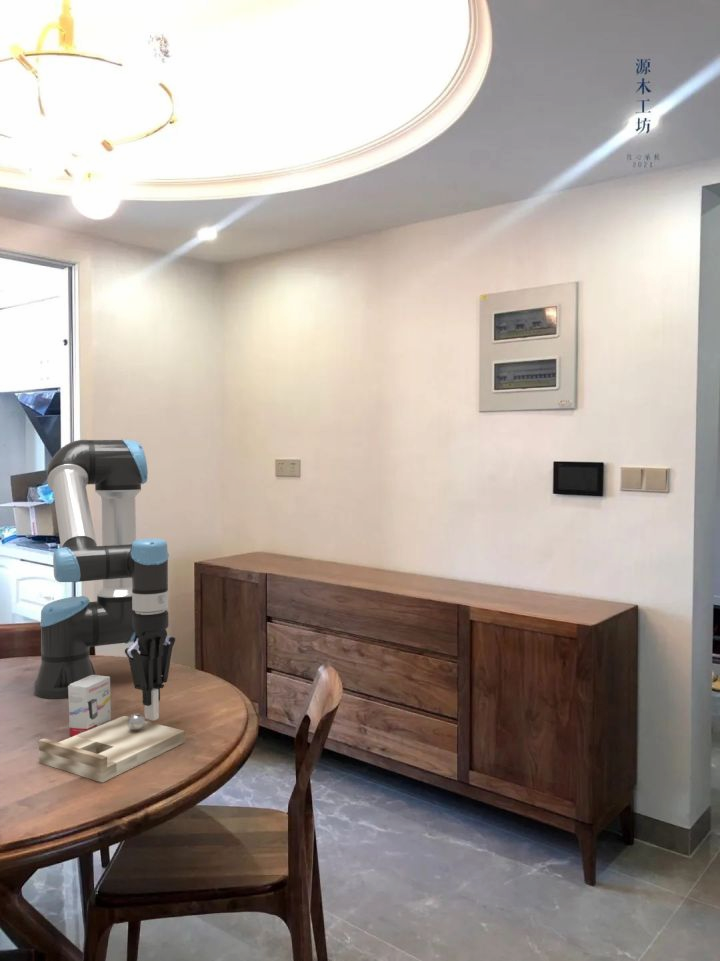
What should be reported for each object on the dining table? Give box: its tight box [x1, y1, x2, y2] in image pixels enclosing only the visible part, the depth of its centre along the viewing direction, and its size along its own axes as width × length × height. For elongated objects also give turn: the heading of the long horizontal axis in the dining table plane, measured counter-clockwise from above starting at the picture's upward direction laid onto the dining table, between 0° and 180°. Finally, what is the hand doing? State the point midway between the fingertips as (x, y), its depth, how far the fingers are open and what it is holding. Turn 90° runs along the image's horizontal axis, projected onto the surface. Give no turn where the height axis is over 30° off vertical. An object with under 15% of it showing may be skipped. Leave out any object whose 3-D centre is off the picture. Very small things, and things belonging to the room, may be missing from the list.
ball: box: [127, 712, 146, 731], centre depth 157 cm, size 4×4×4 cm
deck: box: [38, 715, 186, 783], centre depth 152 cm, size 18×22×4 cm
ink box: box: [68, 674, 112, 738], centre depth 162 cm, size 9×5×12 cm, turn 162°
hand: (151, 718), depth 161 cm, fingers closed
